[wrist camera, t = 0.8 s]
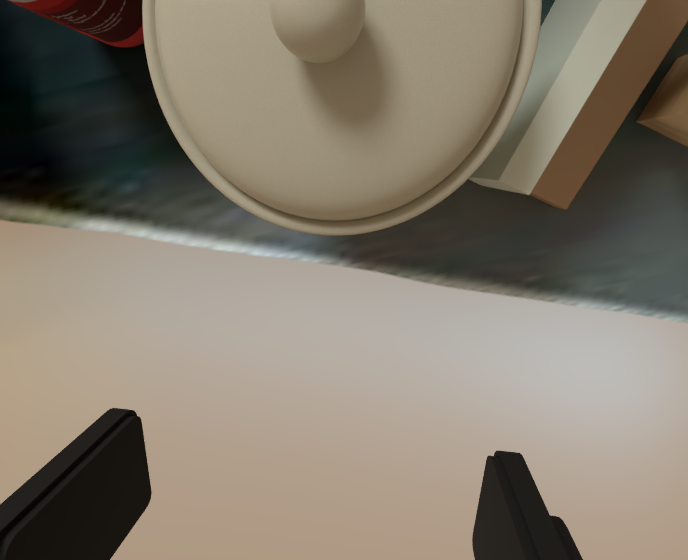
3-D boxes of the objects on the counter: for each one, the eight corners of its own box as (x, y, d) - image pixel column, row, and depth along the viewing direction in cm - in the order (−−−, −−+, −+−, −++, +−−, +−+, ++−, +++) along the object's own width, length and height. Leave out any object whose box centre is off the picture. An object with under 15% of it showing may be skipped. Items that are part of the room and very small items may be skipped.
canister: (285, -55, 30) (81, -493, 10) (502, 14, 30) (734, -298, 10) (237, 170, 36) (43, 175, 16) (420, 231, 35) (462, 314, 15)
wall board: (600, -84, 28) (750, -262, 16) (704, -33, 28) (925, -173, 16) (461, 176, 34) (498, 180, 22) (547, 217, 34) (628, 242, 22)
